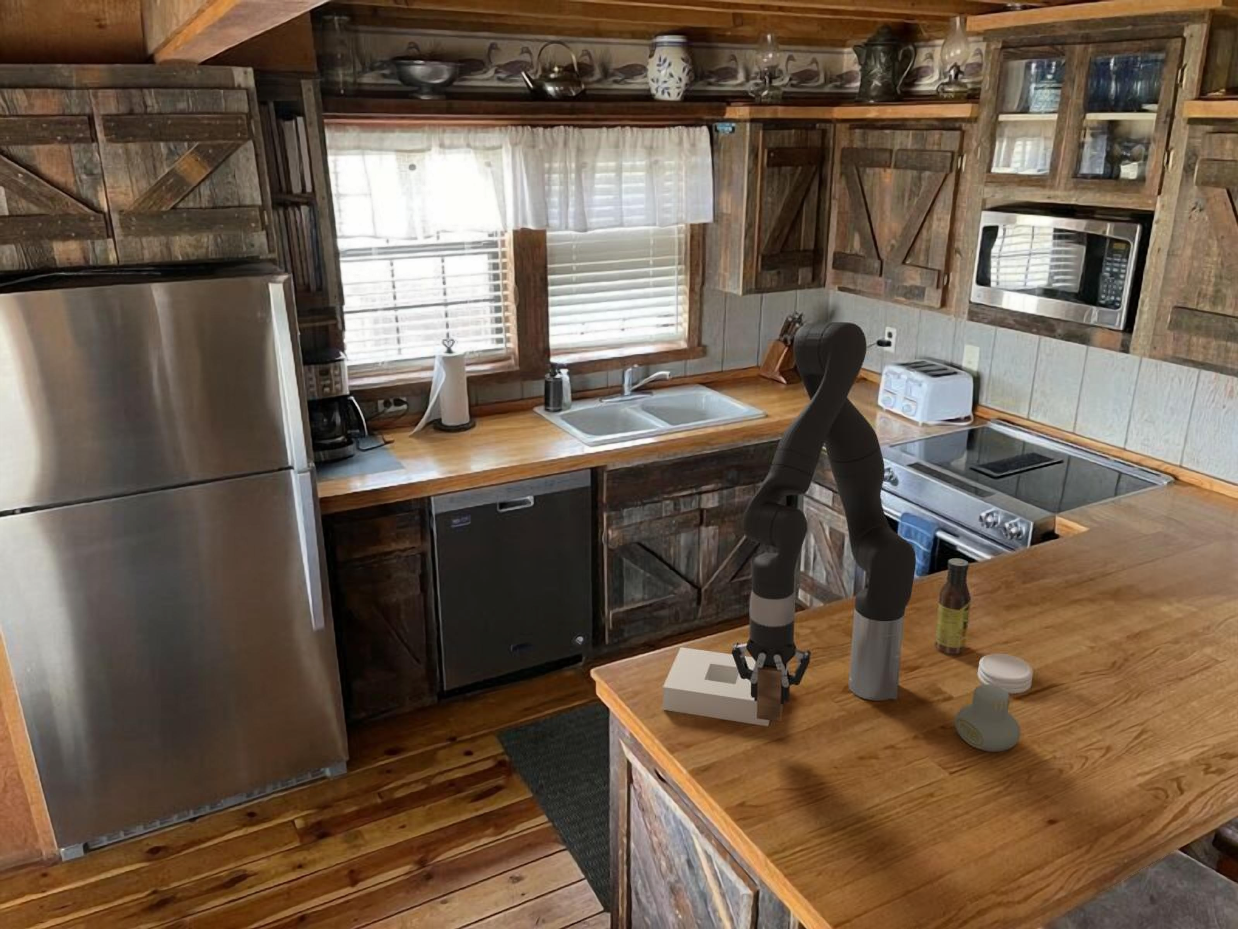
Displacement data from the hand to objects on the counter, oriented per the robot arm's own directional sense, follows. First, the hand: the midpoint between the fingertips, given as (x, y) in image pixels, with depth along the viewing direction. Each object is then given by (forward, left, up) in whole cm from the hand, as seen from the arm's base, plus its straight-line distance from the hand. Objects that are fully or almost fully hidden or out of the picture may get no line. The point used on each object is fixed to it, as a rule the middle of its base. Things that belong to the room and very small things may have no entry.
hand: (769, 700), depth 164 cm
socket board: (+11, -13, -9) cm, 19 cm away
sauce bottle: (-32, -43, -9) cm, 55 cm away
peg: (0, 0, -3) cm, 3 cm away
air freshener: (-37, -11, -9) cm, 40 cm away
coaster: (-42, -33, -10) cm, 55 cm away
